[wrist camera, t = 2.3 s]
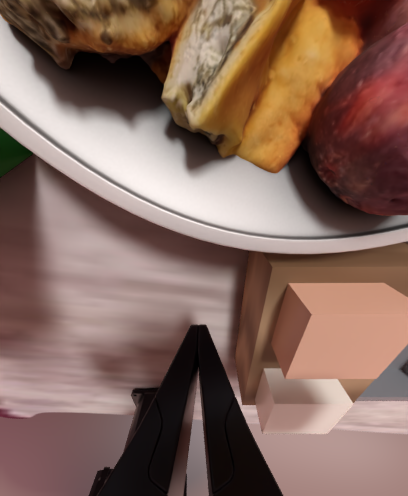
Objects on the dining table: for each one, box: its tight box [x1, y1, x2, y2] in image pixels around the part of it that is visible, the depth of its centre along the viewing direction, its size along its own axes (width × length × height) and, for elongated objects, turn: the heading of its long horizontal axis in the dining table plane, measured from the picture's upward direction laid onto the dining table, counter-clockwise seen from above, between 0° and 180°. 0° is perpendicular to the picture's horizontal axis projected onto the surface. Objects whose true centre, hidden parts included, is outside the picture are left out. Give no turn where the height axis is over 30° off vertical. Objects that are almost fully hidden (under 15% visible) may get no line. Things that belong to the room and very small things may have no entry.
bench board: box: [235, 242, 408, 405], centre depth 13 cm, size 15×10×4 cm, turn 0°
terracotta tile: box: [271, 283, 408, 379], centre depth 8 cm, size 5×5×2 cm
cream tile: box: [255, 368, 353, 434], centre depth 12 cm, size 5×5×2 cm
